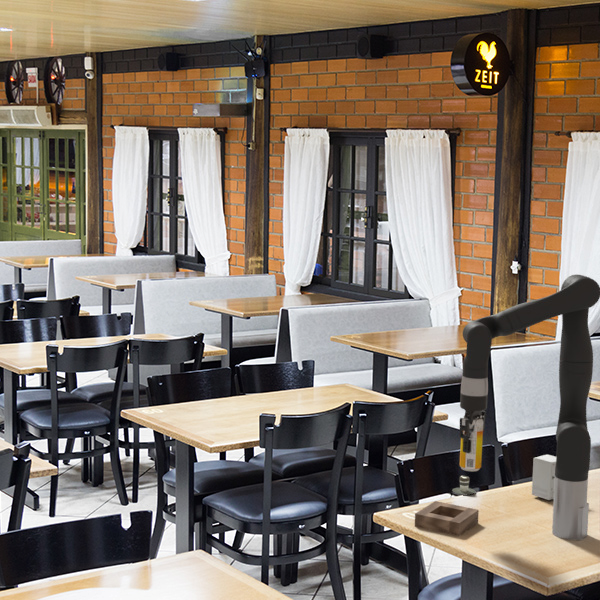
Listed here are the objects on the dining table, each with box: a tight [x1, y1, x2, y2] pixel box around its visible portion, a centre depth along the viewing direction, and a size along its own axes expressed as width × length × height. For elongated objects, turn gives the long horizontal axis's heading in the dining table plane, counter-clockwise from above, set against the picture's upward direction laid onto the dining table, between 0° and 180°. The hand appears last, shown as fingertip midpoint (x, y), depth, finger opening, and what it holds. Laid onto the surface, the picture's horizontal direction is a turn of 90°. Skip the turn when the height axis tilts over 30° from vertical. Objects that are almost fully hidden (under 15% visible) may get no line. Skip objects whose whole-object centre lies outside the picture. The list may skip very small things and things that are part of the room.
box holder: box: [414, 500, 480, 537], centre depth 285 cm, size 14×14×4 cm
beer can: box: [459, 416, 484, 472], centre depth 276 cm, size 6×6×15 cm
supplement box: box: [531, 454, 556, 501], centre depth 315 cm, size 7×7×13 cm
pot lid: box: [451, 475, 477, 496], centre depth 320 cm, size 12×12×5 cm
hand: (471, 449), depth 276 cm, fingers closed on beer can, 6 cm apart
